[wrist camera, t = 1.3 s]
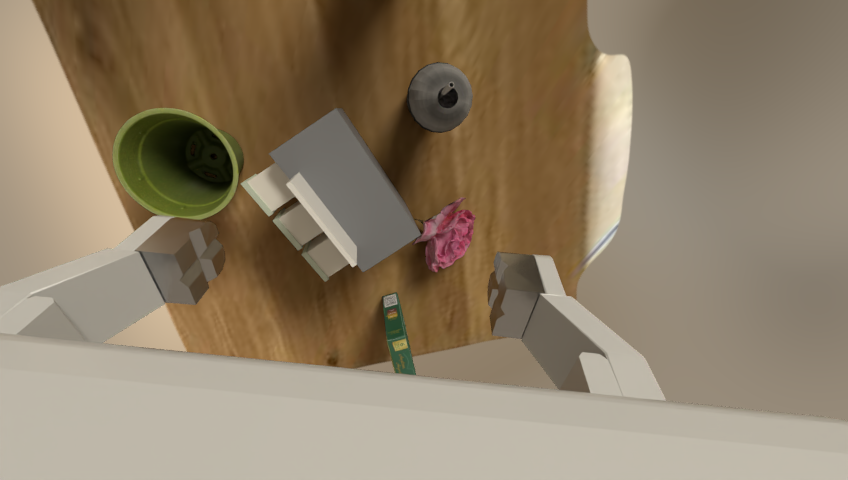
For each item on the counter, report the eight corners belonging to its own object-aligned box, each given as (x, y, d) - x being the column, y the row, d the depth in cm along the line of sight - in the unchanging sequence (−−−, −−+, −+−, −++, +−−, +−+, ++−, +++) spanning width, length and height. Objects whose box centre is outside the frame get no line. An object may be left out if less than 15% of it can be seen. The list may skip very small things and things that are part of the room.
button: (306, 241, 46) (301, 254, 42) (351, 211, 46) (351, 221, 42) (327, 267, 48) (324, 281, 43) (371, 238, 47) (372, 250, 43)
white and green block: (280, 210, 44) (272, 220, 40) (327, 179, 44) (324, 186, 40) (303, 238, 46) (298, 250, 42) (348, 208, 45) (348, 217, 41)
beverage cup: (419, 138, 52) (453, 155, 34) (385, 97, 49) (402, 89, 31) (457, 104, 51) (513, 101, 33) (425, 60, 49) (467, 30, 30)
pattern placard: (293, 175, 37) (284, 185, 32) (298, 172, 36) (290, 181, 32) (352, 249, 40) (351, 268, 36) (356, 246, 40) (356, 264, 36)
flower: (469, 209, 61) (497, 255, 55) (418, 238, 62) (441, 286, 56) (450, 169, 51) (482, 221, 46) (390, 204, 52) (414, 258, 47)
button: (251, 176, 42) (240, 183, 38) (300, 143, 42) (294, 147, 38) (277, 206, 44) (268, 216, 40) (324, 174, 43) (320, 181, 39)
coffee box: (380, 294, 60) (385, 341, 47) (397, 289, 60) (406, 336, 48) (390, 333, 62) (398, 388, 50) (406, 329, 63) (418, 382, 51)
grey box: (294, 141, 49) (268, 153, 35) (342, 108, 49) (335, 108, 35) (361, 231, 55) (363, 272, 41) (405, 203, 55) (421, 234, 41)
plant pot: (272, 191, 51) (250, 213, 41) (184, 203, 50) (137, 228, 39) (250, 103, 47) (219, 102, 36) (152, 113, 45) (91, 114, 35)
